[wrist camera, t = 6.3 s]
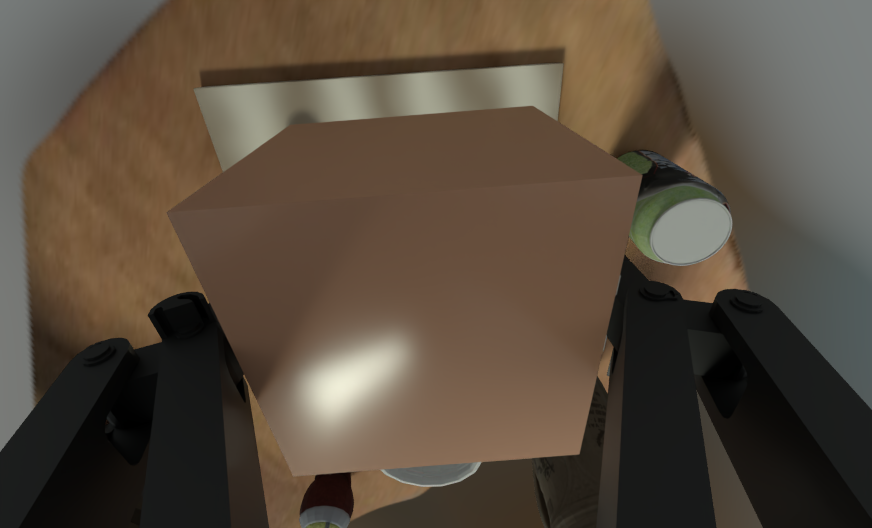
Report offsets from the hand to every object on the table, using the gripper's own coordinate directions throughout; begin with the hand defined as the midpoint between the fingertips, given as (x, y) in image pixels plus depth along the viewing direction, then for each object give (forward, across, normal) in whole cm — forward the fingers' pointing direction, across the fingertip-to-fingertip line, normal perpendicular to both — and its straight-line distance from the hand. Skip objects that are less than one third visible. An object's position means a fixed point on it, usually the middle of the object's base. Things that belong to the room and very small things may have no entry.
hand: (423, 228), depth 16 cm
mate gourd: (+18, +17, +47) cm, 54 cm away
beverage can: (+19, -18, +6) cm, 27 cm away
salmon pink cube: (0, 0, 0) cm, 0 cm away
